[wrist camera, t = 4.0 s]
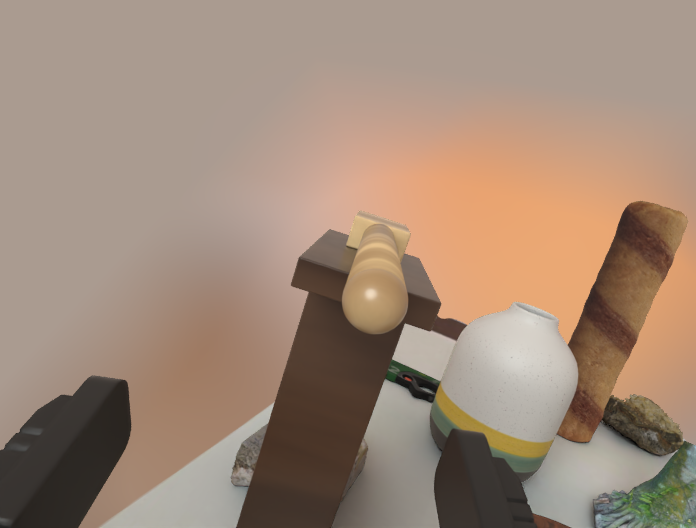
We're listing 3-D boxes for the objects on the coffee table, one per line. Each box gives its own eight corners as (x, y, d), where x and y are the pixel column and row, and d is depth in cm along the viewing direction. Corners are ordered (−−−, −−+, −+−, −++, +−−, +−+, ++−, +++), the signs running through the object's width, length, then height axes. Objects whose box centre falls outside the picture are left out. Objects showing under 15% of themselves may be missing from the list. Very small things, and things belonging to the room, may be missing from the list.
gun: (358, 364, 80) (373, 349, 90) (355, 371, 81) (371, 355, 90) (441, 403, 75) (448, 383, 85) (438, 410, 76) (446, 389, 85)
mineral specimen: (652, 436, 95) (673, 397, 93) (686, 472, 83) (711, 428, 81) (586, 411, 97) (605, 373, 95) (610, 443, 85) (632, 399, 83)
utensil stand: (278, 760, 26) (452, 306, 20) (153, 717, 26) (288, 253, 20) (310, 580, 38) (426, 260, 32) (224, 551, 38) (322, 226, 32)
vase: (550, 514, 57) (628, 352, 52) (429, 477, 57) (497, 311, 52) (508, 438, 74) (565, 310, 69) (414, 409, 73) (464, 278, 69)
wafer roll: (525, 405, 90) (617, 197, 81) (572, 419, 91) (669, 214, 82) (547, 434, 80) (654, 200, 71) (600, 450, 80) (714, 220, 71)
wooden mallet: (351, 236, 32) (359, 210, 31) (397, 251, 32) (406, 225, 31) (303, 323, 12) (323, 257, 12) (423, 362, 12) (448, 297, 12)
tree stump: (578, 564, 50) (633, 421, 51) (580, 517, 68) (621, 410, 68) (785, 695, 41) (850, 516, 42) (726, 602, 58) (773, 476, 59)
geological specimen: (233, 447, 43) (305, 389, 57) (222, 497, 45) (294, 428, 58) (326, 502, 40) (379, 425, 53) (310, 553, 41) (366, 466, 55)
